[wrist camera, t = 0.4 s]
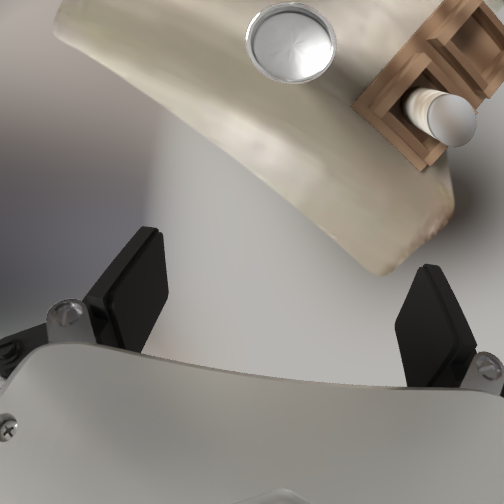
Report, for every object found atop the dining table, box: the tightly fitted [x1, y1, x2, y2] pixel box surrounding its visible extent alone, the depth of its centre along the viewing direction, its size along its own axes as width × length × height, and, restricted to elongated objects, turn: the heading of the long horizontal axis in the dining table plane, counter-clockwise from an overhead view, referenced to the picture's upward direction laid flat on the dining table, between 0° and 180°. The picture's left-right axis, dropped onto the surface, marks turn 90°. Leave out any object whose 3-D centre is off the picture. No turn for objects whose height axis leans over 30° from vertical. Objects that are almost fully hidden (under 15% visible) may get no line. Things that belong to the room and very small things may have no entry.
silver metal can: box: [246, 2, 337, 85], centre depth 26 cm, size 7×7×15 cm
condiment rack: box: [351, 0, 504, 172], centre depth 25 cm, size 24×12×11 cm, turn 145°
